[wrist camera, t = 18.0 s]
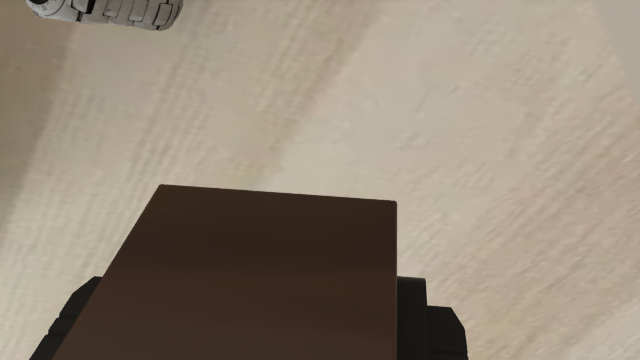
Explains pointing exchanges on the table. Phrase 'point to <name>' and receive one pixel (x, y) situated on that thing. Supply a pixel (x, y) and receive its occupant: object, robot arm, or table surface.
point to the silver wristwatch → (111, 12)
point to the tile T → (246, 281)
